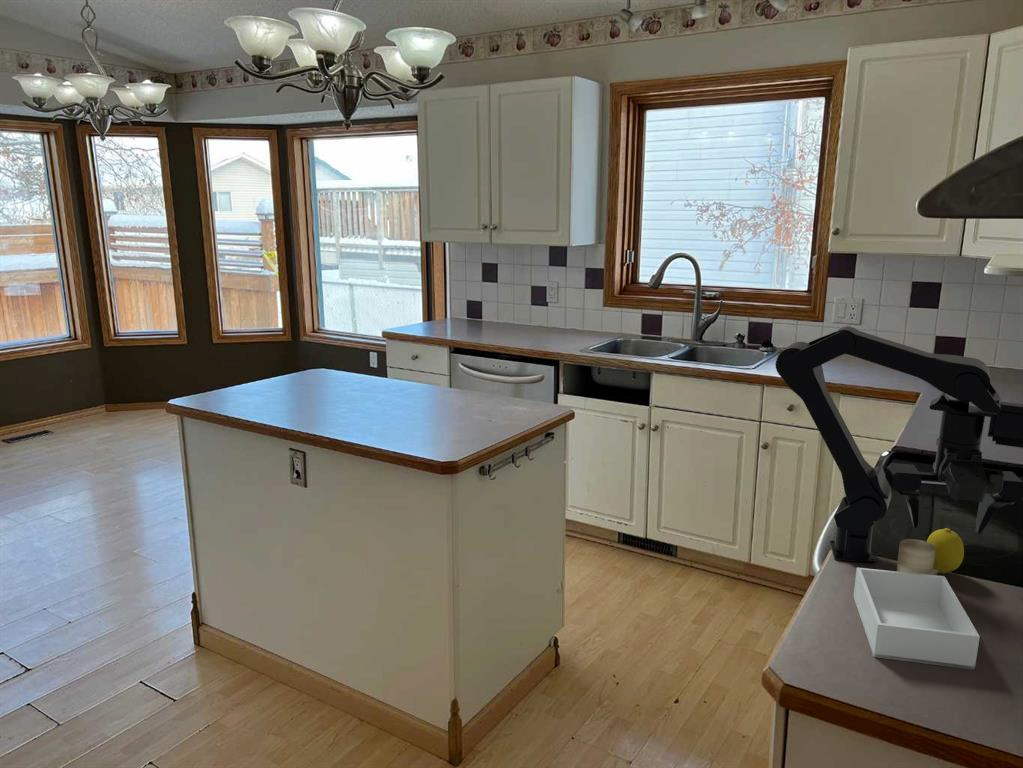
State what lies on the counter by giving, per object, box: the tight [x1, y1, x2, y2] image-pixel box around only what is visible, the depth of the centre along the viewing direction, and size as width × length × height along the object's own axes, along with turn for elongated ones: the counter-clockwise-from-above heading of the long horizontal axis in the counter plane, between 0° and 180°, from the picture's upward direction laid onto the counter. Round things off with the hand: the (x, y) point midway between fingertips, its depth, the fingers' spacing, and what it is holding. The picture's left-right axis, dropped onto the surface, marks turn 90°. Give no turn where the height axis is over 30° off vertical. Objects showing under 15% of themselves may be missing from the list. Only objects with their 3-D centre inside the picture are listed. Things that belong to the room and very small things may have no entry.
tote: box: [853, 567, 980, 671], centre depth 107 cm, size 16×12×5 cm
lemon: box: [926, 527, 965, 574], centre depth 122 cm, size 6×6×8 cm
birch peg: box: [896, 538, 936, 575], centre depth 118 cm, size 5×5×7 cm
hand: (946, 530), depth 121 cm, fingers open, 9 cm apart
